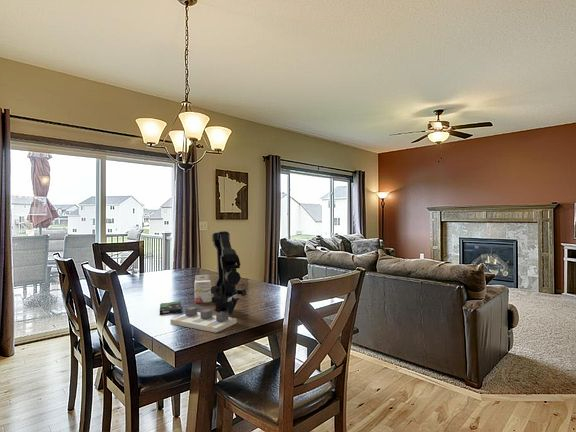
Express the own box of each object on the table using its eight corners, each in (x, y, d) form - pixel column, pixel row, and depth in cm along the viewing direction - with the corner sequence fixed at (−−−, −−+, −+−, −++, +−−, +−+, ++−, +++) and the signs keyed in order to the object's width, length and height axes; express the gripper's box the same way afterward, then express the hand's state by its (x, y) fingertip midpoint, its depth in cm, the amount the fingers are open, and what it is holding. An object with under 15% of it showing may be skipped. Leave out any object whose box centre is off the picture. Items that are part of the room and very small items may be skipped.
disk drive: (181, 314, 170) (180, 306, 184) (181, 308, 170) (180, 300, 184) (159, 316, 167) (160, 308, 181) (159, 310, 167) (159, 302, 181)
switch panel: (192, 315, 166) (192, 310, 166) (236, 322, 154) (236, 318, 154) (170, 323, 153) (170, 319, 153) (216, 332, 141) (216, 327, 141)
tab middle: (206, 315, 158) (206, 308, 158) (212, 316, 156) (212, 309, 156) (200, 317, 154) (200, 311, 154) (206, 318, 153) (206, 312, 153)
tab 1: (191, 313, 162) (191, 306, 162) (197, 313, 160) (197, 307, 160) (185, 315, 159) (185, 308, 158) (191, 316, 157) (191, 309, 157)
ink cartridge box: (195, 303, 187) (195, 276, 187) (194, 301, 192) (194, 275, 192) (211, 302, 190) (211, 275, 190) (210, 299, 195) (209, 274, 195)
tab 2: (222, 318, 154) (222, 311, 154) (228, 319, 152) (228, 312, 152) (216, 320, 150) (216, 313, 150) (222, 321, 149) (222, 314, 149)
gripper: (227, 275, 168) (228, 307, 168) (201, 282, 151) (202, 318, 151) (246, 277, 163) (247, 310, 163) (222, 284, 146) (222, 321, 146)
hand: (229, 314), depth 156 cm, fingers closed
